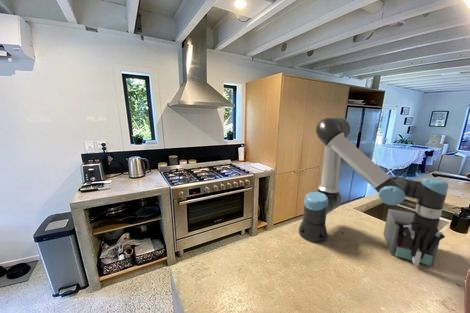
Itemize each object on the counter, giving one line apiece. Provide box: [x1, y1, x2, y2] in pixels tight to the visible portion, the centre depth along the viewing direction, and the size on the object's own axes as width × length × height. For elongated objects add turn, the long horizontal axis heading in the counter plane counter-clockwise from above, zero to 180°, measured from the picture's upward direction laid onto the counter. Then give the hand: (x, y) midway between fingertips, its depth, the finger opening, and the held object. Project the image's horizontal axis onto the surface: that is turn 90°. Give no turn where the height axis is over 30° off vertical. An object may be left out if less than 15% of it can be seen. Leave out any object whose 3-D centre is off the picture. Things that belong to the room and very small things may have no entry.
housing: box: [383, 208, 441, 267], centre depth 94 cm, size 18×15×16 cm
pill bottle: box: [400, 228, 415, 250], centre depth 92 cm, size 6×6×11 cm
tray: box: [394, 235, 433, 266], centre depth 93 cm, size 18×12×4 cm, turn 152°
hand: (415, 263), depth 84 cm, fingers closed
